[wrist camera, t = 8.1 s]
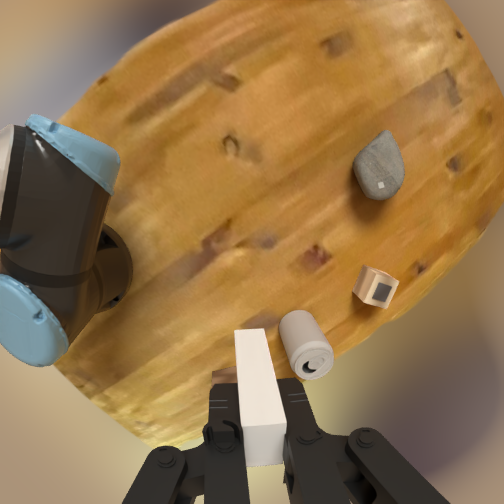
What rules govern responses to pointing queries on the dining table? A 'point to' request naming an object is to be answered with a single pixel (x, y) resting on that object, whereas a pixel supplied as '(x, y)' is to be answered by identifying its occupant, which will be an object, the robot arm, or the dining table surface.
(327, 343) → the beverage can
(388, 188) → the stone
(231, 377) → the walnut block
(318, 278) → the dining table surface
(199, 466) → the robot arm
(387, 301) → the beech block
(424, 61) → the dining table surface
